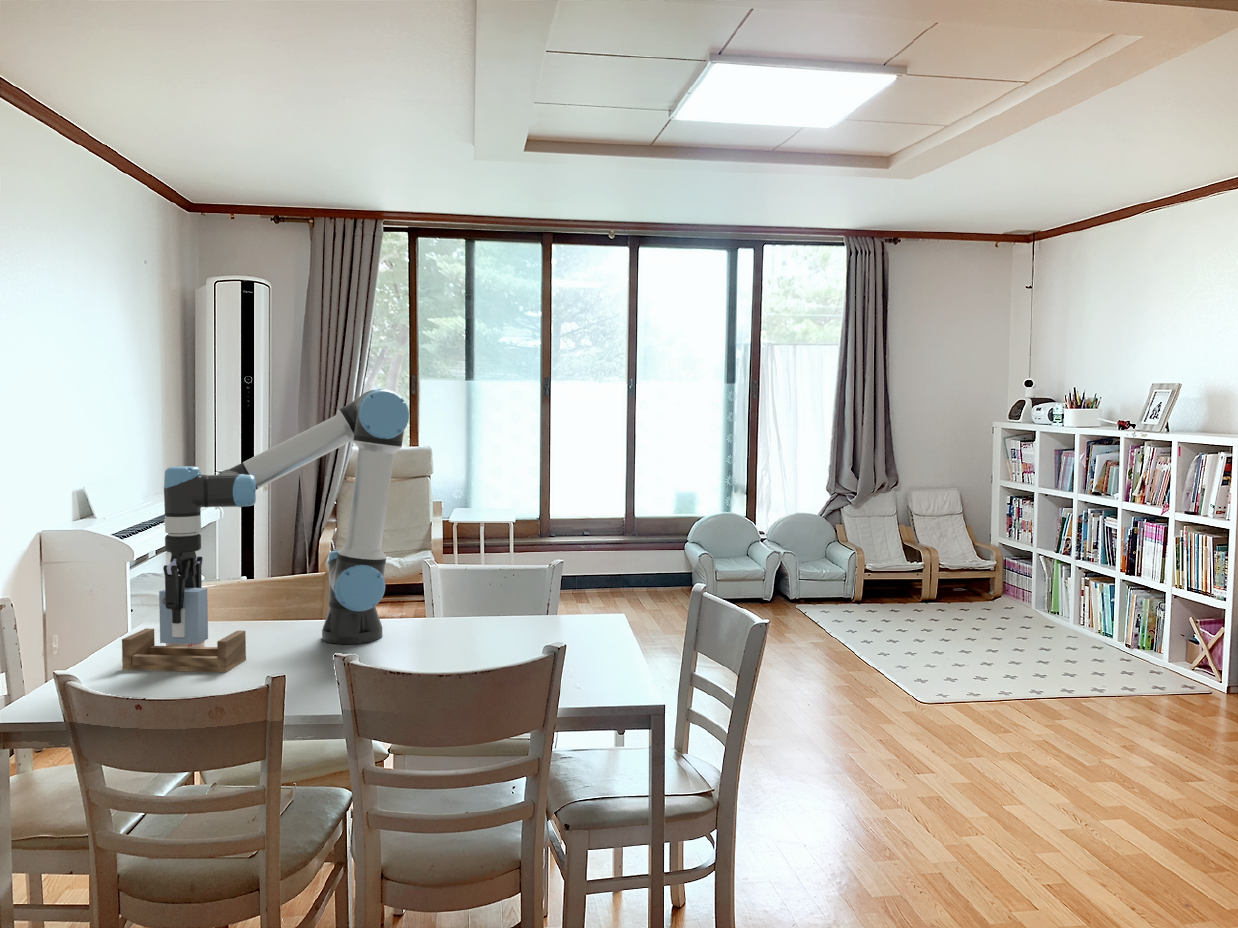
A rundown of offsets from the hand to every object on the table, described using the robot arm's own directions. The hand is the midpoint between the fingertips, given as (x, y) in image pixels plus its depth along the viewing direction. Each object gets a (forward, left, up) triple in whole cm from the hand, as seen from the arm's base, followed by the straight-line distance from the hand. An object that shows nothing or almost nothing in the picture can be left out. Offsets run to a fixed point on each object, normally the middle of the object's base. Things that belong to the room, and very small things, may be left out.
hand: (184, 633), depth 216 cm
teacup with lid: (+7, -15, -7) cm, 18 cm away
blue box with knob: (0, 0, -2) cm, 2 cm away
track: (0, 0, -7) cm, 7 cm away
